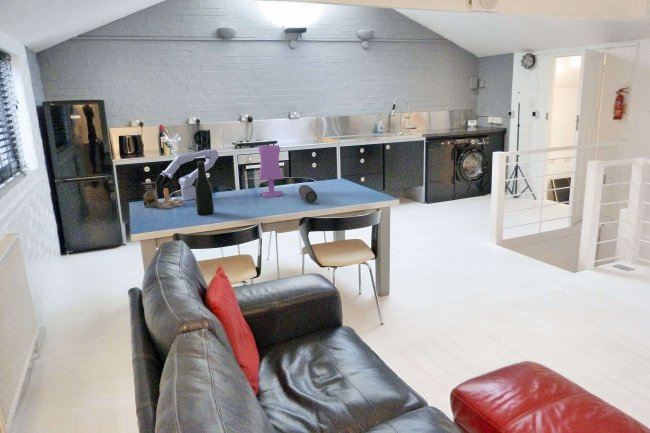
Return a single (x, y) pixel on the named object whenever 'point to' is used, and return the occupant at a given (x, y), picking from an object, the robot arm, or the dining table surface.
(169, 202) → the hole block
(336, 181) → the dining table surface
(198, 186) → the beer bottle
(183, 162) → the robot arm
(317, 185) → the dining table surface
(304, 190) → the bluetooth speaker
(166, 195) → the dowel
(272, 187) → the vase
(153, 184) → the coffee box
